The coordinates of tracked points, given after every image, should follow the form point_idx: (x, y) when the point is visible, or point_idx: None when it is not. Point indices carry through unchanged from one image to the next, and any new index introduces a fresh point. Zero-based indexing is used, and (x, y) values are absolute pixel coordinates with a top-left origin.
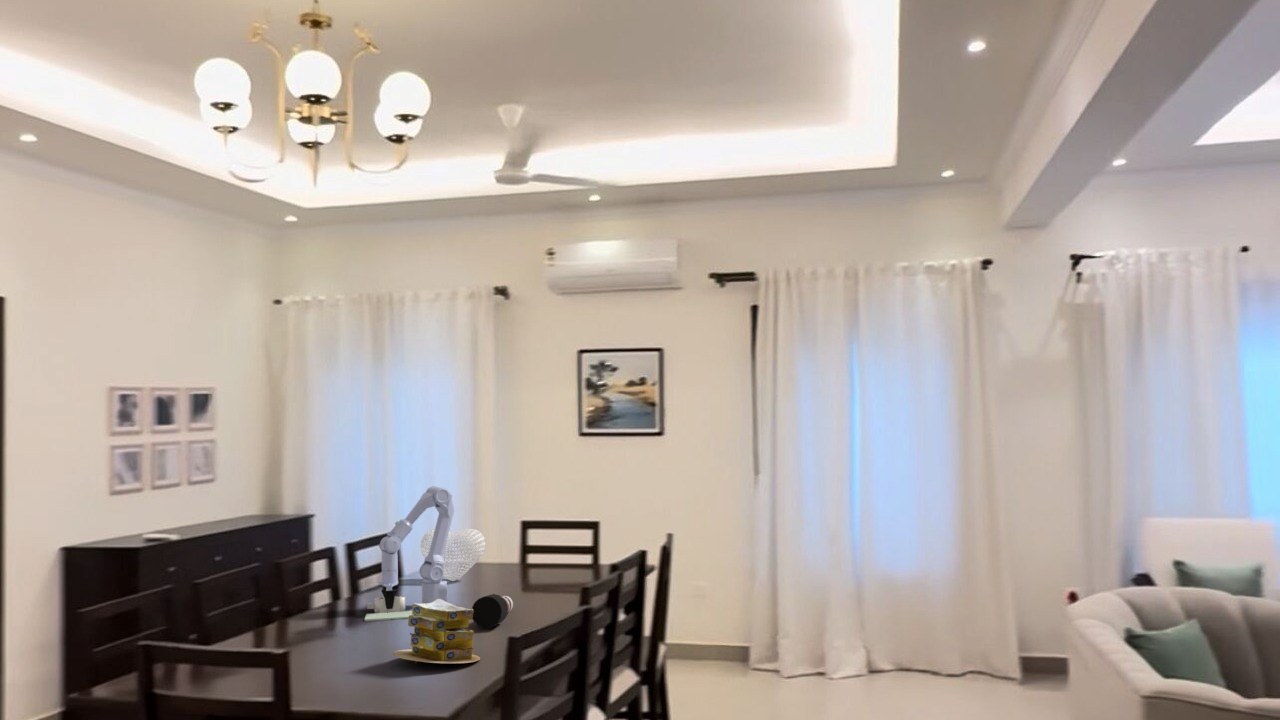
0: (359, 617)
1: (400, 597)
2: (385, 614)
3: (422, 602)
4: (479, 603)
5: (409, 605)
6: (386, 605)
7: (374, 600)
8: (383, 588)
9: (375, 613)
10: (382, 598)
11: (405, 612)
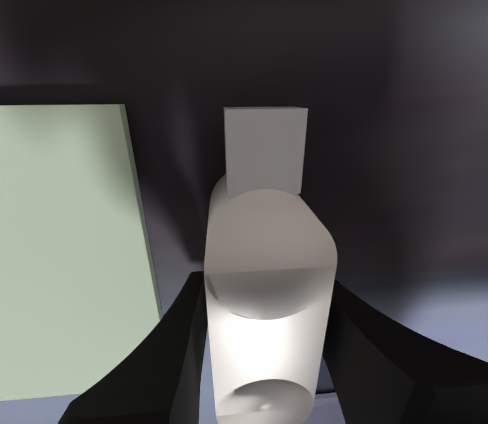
0: (36, 36)
1: (243, 417)
2: (72, 264)
3: (329, 419)
4: None
5: None
6: (183, 290)
7: (252, 203)
8: (409, 390)
9: (123, 187)
10: (243, 295)
11: None
